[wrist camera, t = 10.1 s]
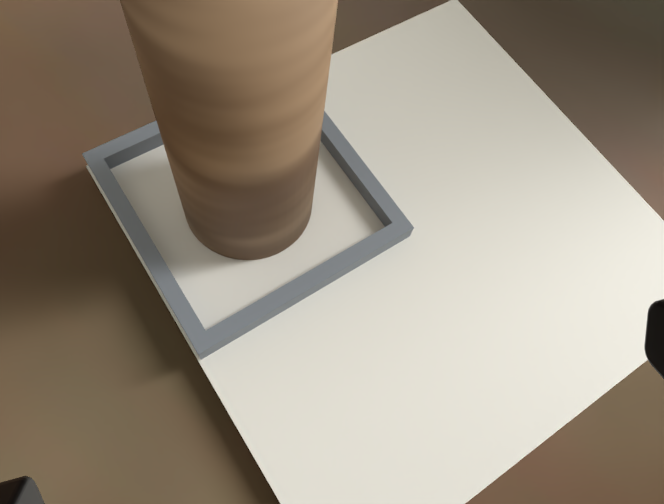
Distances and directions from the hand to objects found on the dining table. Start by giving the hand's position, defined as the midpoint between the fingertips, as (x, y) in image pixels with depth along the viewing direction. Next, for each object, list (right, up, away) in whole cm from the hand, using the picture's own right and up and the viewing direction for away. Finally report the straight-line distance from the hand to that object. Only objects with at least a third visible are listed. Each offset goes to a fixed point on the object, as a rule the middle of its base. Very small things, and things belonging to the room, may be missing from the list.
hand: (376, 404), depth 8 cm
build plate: (+2, +3, +16) cm, 16 cm away
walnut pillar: (-4, +4, +15) cm, 16 cm away
